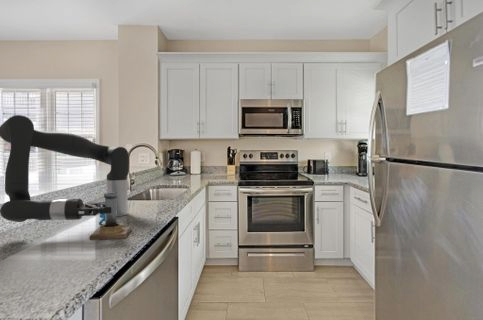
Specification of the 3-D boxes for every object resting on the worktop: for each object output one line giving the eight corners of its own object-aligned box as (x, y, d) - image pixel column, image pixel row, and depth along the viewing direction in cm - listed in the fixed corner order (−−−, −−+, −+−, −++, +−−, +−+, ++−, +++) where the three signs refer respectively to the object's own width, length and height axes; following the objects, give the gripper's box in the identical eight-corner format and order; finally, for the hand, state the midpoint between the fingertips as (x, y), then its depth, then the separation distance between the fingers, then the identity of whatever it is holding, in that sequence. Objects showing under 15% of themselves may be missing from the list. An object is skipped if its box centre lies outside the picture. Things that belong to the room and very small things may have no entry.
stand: (98, 231, 122) (98, 222, 122) (130, 229, 124) (130, 220, 124) (89, 239, 110) (89, 230, 110) (125, 238, 112) (125, 228, 112)
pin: (105, 229, 119) (105, 192, 118) (119, 228, 120) (118, 192, 119) (102, 232, 114) (102, 194, 114) (116, 231, 115) (116, 194, 114)
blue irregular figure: (109, 223, 127) (95, 205, 129) (99, 233, 128) (85, 215, 130) (124, 221, 138) (110, 204, 140) (114, 230, 139) (101, 213, 140)
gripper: (59, 202, 107) (109, 201, 110) (73, 196, 121) (117, 195, 124) (59, 224, 107) (109, 222, 110) (73, 215, 121) (118, 214, 124)
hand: (114, 207), depth 117 cm, fingers open, 8 cm apart
